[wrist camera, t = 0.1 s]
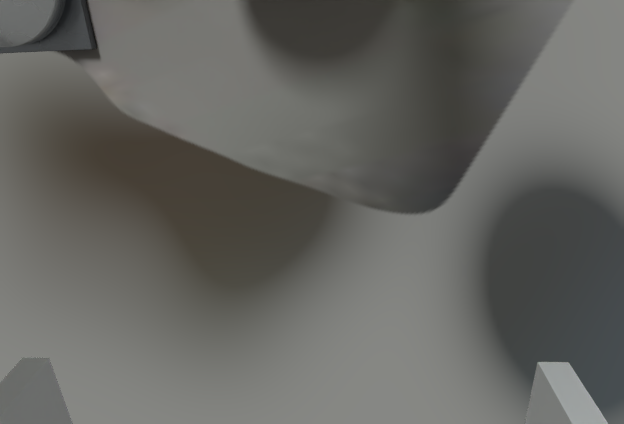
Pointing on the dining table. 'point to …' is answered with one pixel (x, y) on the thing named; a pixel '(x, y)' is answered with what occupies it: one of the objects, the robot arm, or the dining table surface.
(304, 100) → the dining table surface
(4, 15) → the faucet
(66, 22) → the wheel stand
